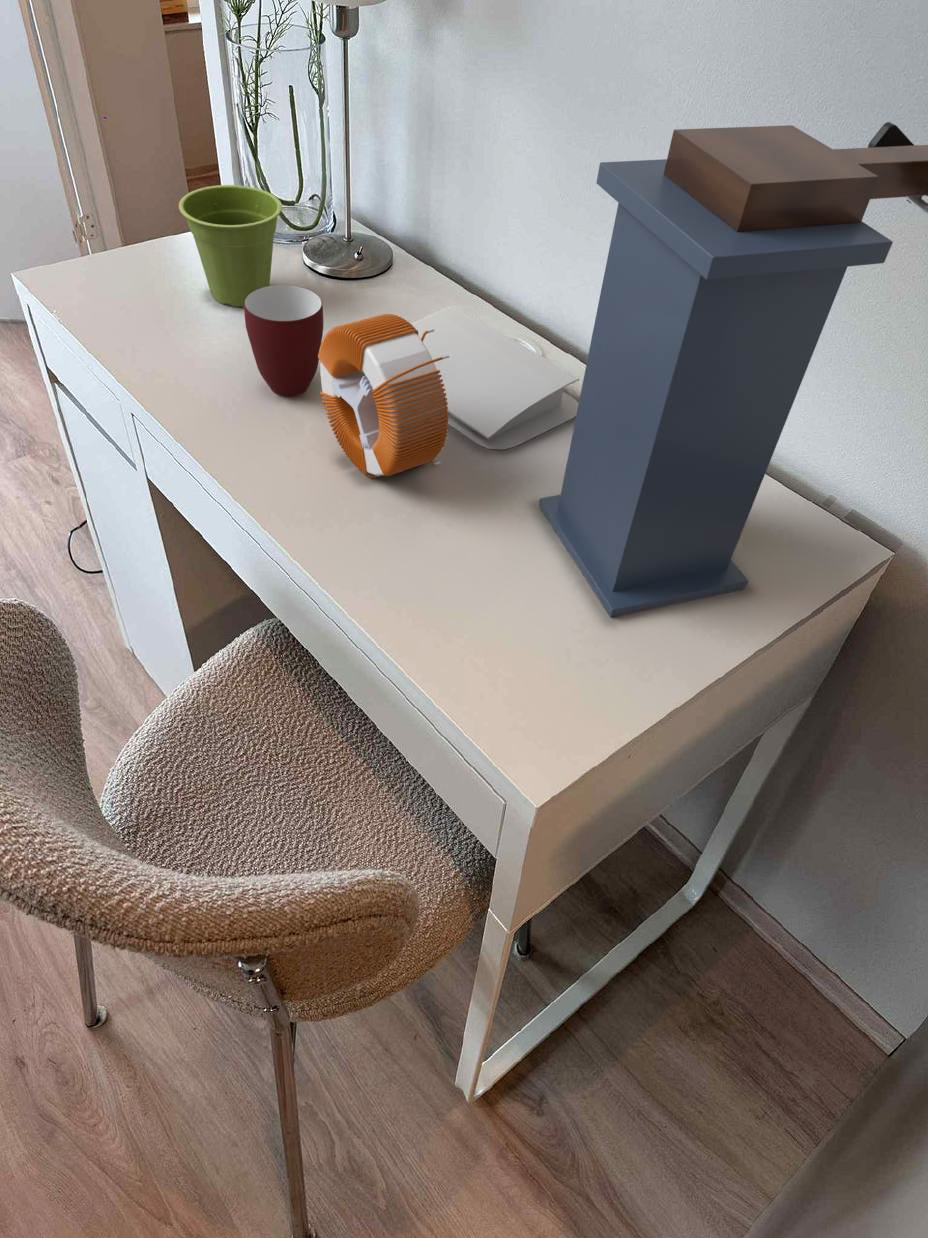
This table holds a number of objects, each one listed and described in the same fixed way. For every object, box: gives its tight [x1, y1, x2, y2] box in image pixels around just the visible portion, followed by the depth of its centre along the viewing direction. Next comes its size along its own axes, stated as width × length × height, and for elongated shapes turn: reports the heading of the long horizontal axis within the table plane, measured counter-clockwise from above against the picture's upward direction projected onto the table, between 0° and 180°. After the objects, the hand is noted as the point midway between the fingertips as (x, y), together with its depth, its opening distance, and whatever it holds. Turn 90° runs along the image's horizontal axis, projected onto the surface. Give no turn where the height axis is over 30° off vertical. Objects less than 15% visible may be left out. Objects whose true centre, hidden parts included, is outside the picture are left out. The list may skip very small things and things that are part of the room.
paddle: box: [664, 124, 928, 232], centre depth 63 cm, size 24×10×3 cm, turn 110°
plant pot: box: [178, 184, 283, 308], centre depth 109 cm, size 12×12×11 cm
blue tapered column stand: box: [538, 158, 894, 618], centre depth 73 cm, size 14×16×32 cm
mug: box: [243, 284, 324, 398], centre depth 96 cm, size 11×8×10 cm
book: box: [410, 304, 580, 451], centre depth 101 cm, size 15×23×4 cm, turn 43°
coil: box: [318, 313, 449, 478], centre depth 86 cm, size 7×15×15 cm, turn 36°
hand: (916, 154), depth 64 cm, fingers open, 8 cm apart
